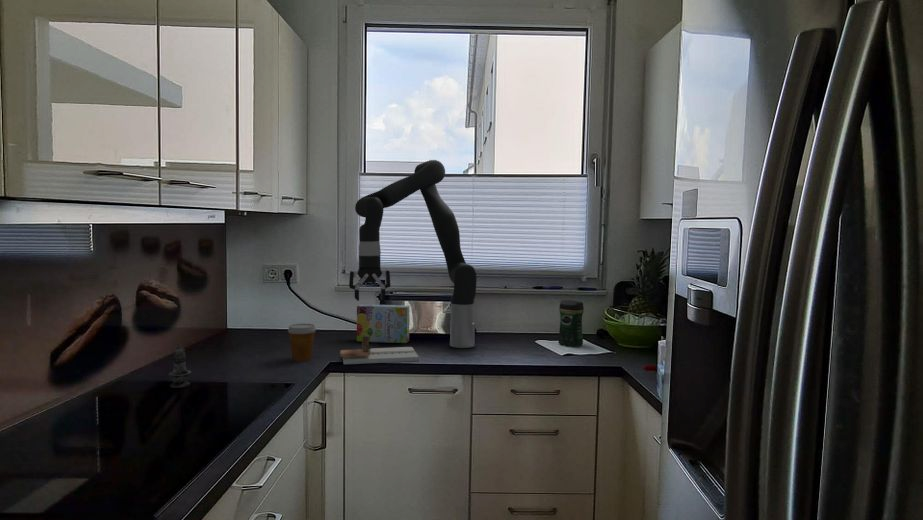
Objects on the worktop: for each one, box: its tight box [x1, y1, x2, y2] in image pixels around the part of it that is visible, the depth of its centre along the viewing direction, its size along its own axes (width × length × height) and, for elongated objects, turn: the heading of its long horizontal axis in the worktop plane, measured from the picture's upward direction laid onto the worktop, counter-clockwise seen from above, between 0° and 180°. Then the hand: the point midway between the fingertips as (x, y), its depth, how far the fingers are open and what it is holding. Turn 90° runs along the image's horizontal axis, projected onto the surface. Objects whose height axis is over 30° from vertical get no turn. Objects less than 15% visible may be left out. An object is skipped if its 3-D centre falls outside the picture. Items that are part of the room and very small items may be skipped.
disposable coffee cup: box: [287, 323, 317, 363], centre depth 182 cm, size 10×10×12 cm
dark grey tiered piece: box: [168, 343, 192, 389], centre depth 151 cm, size 6×6×12 cm
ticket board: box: [342, 346, 420, 365], centre depth 187 cm, size 26×13×2 cm, turn 105°
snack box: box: [356, 303, 410, 344], centre depth 214 cm, size 21×6×15 cm, turn 84°
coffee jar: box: [557, 299, 585, 348], centre depth 214 cm, size 10×8×19 cm
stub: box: [339, 334, 370, 358], centre depth 181 cm, size 10×5×6 cm, turn 105°
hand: (369, 300), depth 184 cm, fingers open, 8 cm apart
